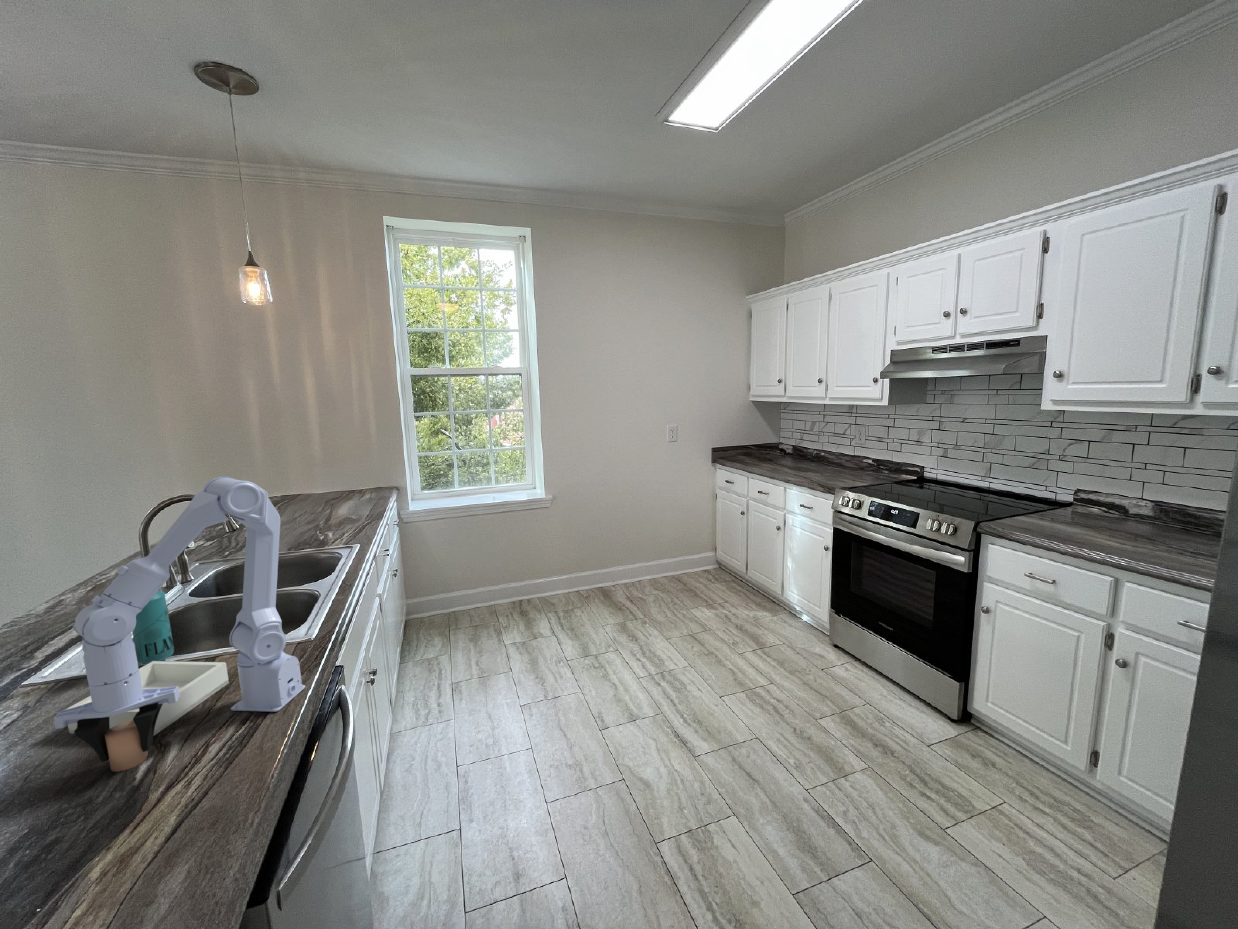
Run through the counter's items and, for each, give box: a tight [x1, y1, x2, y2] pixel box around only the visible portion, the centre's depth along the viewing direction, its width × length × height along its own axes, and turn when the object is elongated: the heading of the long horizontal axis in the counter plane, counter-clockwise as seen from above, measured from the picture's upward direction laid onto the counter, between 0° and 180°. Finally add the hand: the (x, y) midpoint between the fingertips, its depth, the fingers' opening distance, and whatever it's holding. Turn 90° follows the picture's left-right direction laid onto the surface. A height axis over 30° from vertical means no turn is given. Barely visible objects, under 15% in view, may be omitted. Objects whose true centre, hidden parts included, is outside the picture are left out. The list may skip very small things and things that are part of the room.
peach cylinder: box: [105, 720, 149, 773], centre depth 82 cm, size 4×4×6 cm
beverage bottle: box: [131, 589, 175, 665], centre depth 111 cm, size 6×7×20 cm
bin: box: [65, 660, 230, 737], centre depth 97 cm, size 16×16×5 cm
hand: (128, 752), depth 82 cm, fingers closed on peach cylinder, 4 cm apart
